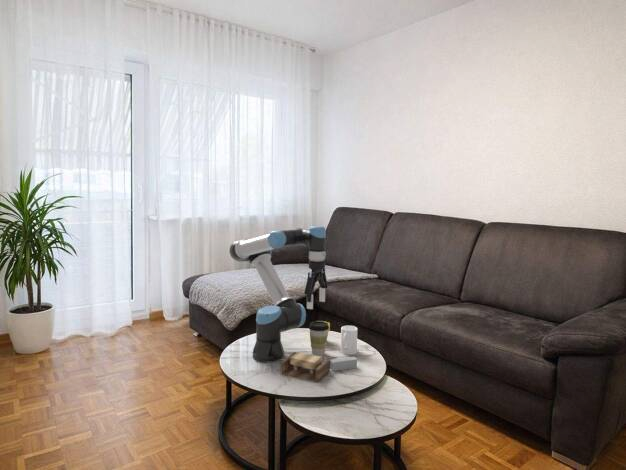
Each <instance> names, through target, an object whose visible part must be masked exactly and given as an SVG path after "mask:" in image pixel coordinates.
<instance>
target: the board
mask: <svg viewBox="0 0 626 470" xmlns="http://www.w3.org/2000/svg"><path fill="white" fill-rule="evenodd" d="M322 363H323V356H315V355H313V354H308V353H304V352H299V351H297V352H296V354H294V355H293V356H292V357H290V364H292V365H296V366H301V367H305V368H310V369H314V370H315V369H316V368H317V367H319V366H320V365H321V364H322Z"/></svg>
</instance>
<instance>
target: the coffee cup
mask: <svg viewBox="0 0 626 470" xmlns="http://www.w3.org/2000/svg"><path fill="white" fill-rule="evenodd" d="M322 321H323V320H314V321H312V322H310V323H309V325H308V330H309V338H310V347H311V355H314V356H319V357H323V356H324V355H325V353H326V348H327V341H328V336H329V332H328V329H329V326H328V324H327V323H326V322H327V321H325V322H322ZM327 332H328V333H327ZM327 335H328V336H327Z"/></svg>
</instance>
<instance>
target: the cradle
mask: <svg viewBox="0 0 626 470" xmlns="http://www.w3.org/2000/svg"><path fill="white" fill-rule="evenodd" d="M296 353H297V352H296V351H295V352H292V353H291V354H290V355H289V356H287V357H285V359H284V358H283V360H282V361H281V362H280V363H281V365H280V367H281V369H280V371H281V372H280V374H281V375H285V376H289V377H295V378H298V379H302V380H307V381H311V382H315V383H320V382H321V381H322V380H323V379H324V378H325V377H326V376H327V375H328V374H329V373H330V372H331V369H330V360H331V359H329V358H326V359H325V360H324V361H322V364H321V365H320V366H318V367H317V368H316V369H315V370H314V369H310V368H305V367H301V366H296V365H292V364H290V357H292V356H293V355H294V354H296Z"/></svg>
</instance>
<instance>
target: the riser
mask: <svg viewBox="0 0 626 470" xmlns="http://www.w3.org/2000/svg"><path fill="white" fill-rule="evenodd" d="M357 367H358V359H357V357H355V356H350V357H343V358H336V359H335V358H334V359H330V371H332V372H335V371H343V370H350V369H355V368H356V369H357Z"/></svg>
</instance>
